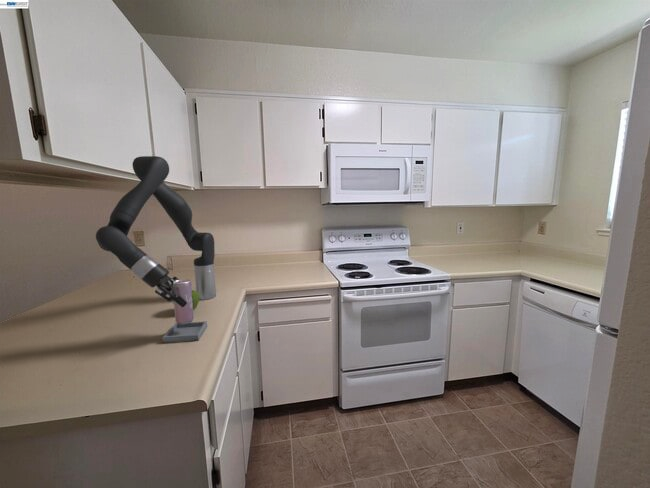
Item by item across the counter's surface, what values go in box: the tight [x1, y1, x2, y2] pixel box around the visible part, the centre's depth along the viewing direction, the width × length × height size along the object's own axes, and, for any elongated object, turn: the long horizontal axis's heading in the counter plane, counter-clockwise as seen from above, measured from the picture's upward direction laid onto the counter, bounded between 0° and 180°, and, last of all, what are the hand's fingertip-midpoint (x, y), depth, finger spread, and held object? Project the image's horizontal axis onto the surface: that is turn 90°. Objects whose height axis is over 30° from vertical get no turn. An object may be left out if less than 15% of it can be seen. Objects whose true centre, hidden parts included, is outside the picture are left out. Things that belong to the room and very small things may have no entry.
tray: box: [161, 320, 208, 344], centre depth 103 cm, size 12×12×2 cm
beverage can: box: [173, 278, 195, 324], centre depth 101 cm, size 6×6×15 cm
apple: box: [172, 289, 200, 311], centre depth 124 cm, size 11×10×10 cm
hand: (188, 301), depth 101 cm, fingers closed on beverage can, 6 cm apart
